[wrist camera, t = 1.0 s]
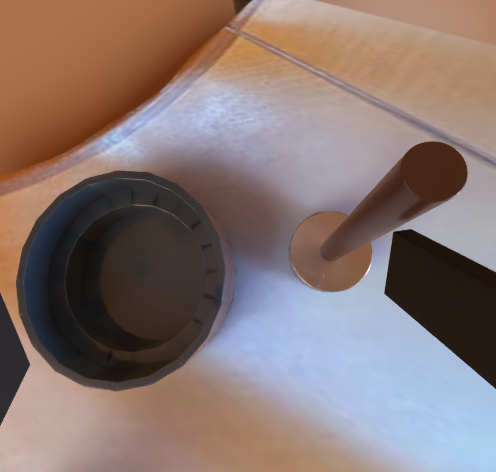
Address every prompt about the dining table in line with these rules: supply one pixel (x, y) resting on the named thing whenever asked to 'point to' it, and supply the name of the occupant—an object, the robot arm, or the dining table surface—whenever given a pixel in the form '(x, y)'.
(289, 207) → the dining table surface
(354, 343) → the dining table surface
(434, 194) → the brown rod with cylinder
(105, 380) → the bowl
